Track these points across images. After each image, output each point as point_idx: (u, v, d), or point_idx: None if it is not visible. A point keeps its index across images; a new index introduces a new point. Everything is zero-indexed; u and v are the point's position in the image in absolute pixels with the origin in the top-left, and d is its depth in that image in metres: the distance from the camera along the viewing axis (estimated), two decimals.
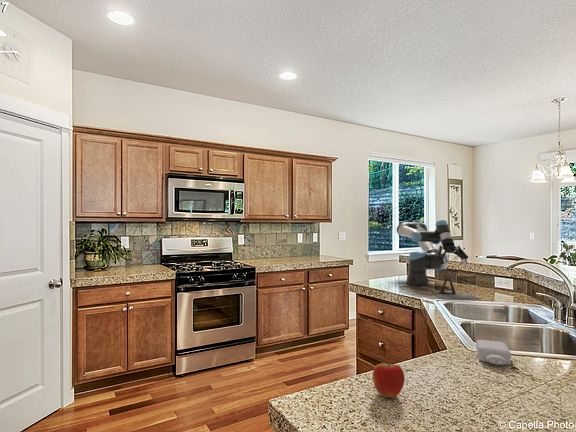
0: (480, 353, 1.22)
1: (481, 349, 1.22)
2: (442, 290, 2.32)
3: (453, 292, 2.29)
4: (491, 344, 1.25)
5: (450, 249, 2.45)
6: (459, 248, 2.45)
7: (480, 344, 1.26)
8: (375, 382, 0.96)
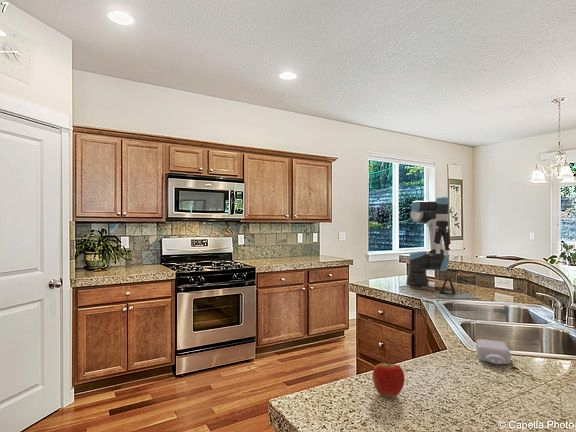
0: (480, 353, 1.23)
1: (481, 349, 1.23)
2: (442, 290, 2.32)
3: (453, 292, 2.29)
4: (491, 344, 1.26)
5: (440, 232, 2.42)
6: (444, 232, 2.36)
7: (480, 344, 1.26)
8: (375, 382, 0.96)
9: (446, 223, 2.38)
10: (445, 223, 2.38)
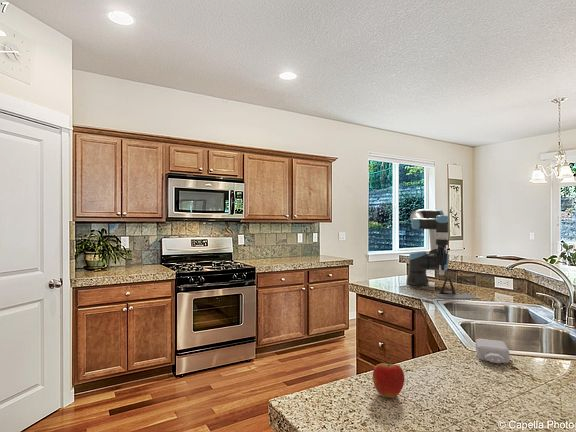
0: (479, 352, 1.23)
1: (480, 348, 1.23)
2: (442, 290, 2.32)
3: (453, 292, 2.29)
4: (490, 343, 1.26)
5: None
6: (443, 252, 2.37)
7: (479, 343, 1.27)
8: (375, 382, 0.96)
9: (446, 242, 2.38)
10: (445, 242, 2.38)
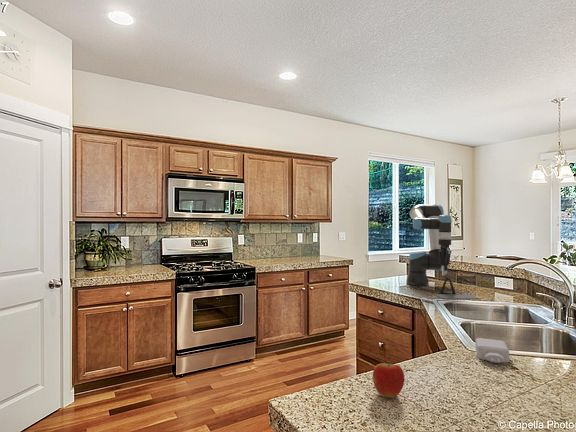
0: (479, 351, 1.24)
1: (480, 347, 1.24)
2: (442, 290, 2.32)
3: (453, 292, 2.29)
4: (490, 342, 1.27)
5: None
6: (446, 253, 2.33)
7: (479, 342, 1.27)
8: (375, 382, 0.96)
9: (449, 242, 2.34)
10: (448, 242, 2.34)
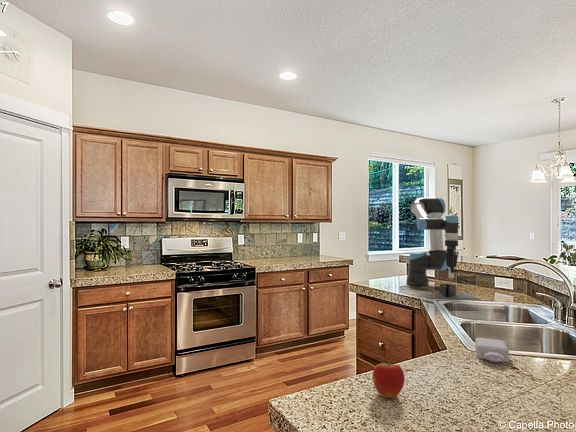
0: (479, 351, 1.24)
1: (480, 347, 1.24)
2: None
3: None
4: (490, 342, 1.27)
5: None
6: (453, 254, 2.24)
7: (479, 342, 1.28)
8: (375, 382, 0.96)
9: (456, 243, 2.26)
10: (455, 243, 2.26)
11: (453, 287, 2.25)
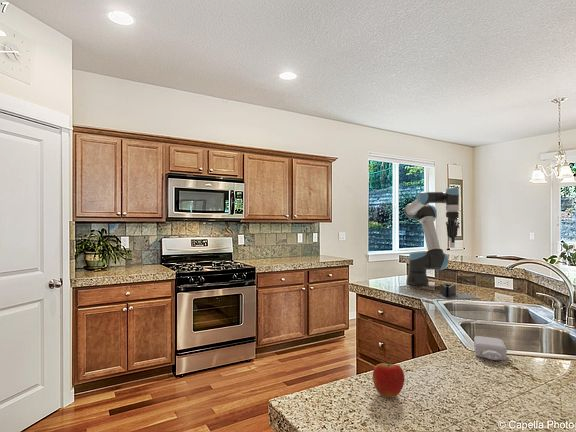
0: (477, 349, 1.26)
1: (478, 345, 1.26)
2: None
3: None
4: (488, 340, 1.29)
5: None
6: (453, 224, 2.36)
7: (477, 340, 1.30)
8: (375, 382, 0.96)
9: (456, 214, 2.37)
10: (455, 214, 2.37)
11: (453, 287, 2.25)
